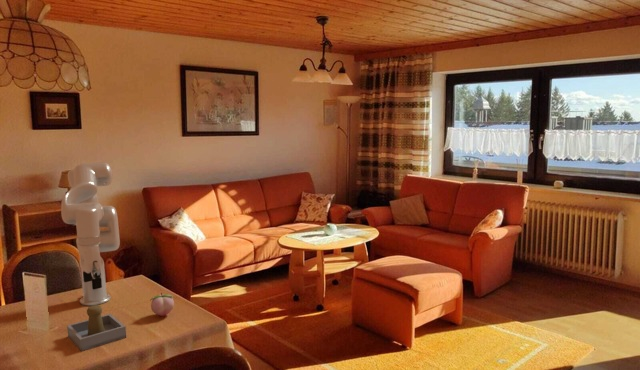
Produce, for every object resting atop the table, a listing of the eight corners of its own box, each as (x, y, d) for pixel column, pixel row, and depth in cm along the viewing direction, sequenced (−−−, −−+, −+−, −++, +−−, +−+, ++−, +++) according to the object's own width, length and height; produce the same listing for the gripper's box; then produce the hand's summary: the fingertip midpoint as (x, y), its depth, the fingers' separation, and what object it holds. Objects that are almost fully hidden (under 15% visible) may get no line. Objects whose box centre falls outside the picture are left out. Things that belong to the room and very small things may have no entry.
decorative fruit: (172, 310, 215) (171, 287, 213) (176, 317, 207) (175, 293, 206) (149, 314, 210) (148, 291, 209) (152, 321, 203) (151, 297, 202)
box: (68, 336, 190) (66, 325, 190) (111, 324, 201) (110, 313, 200) (81, 351, 178) (80, 339, 178) (126, 337, 189) (125, 326, 188)
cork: (98, 338, 186) (96, 310, 185) (84, 337, 188) (81, 309, 186) (108, 331, 192) (106, 303, 191) (94, 330, 193) (92, 302, 192)
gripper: (71, 237, 188) (74, 281, 191) (85, 247, 175) (89, 294, 178) (91, 233, 193) (95, 276, 196) (107, 243, 180) (111, 288, 183)
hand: (92, 284), depth 187 cm, fingers open, 9 cm apart
